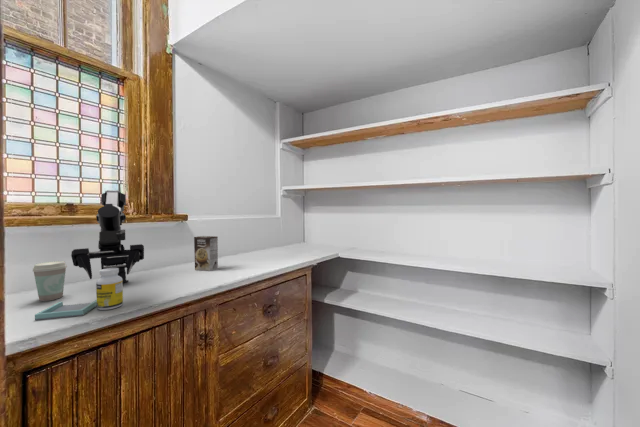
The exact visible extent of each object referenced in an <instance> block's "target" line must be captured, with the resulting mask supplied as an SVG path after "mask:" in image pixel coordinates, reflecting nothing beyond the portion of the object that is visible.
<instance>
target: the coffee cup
mask: <svg viewBox="0 0 640 427" xmlns="http://www.w3.org/2000/svg"><path fill="white" fill-rule="evenodd" d="M67 267H68V266H67V264H66V262H65V261H63V260H58V261H57V260H56V261H55V260H54V261H46V262H39V263H36V264H34V266H33V268H32V272H33V276H34V281H35V286H36V290H37V295H38V299H39V301H41V302H46V301H47V302H49V301H53V300H58V299H61V298H62V297H63V296H64V290H65V289H64V288H65V280H66V279H65V278H66V270H67Z"/></svg>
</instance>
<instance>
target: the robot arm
mask: <svg viewBox="0 0 640 427" xmlns="http://www.w3.org/2000/svg"><path fill="white" fill-rule="evenodd" d="M100 196H101V197H100V199H101V200H100V201H101V205H102V206H101V207H100V208H98V210H97V214H96V215H95V217H96V222H97V223H98V224H99V227H100V231H99V235H98V238H99V240H98V246H97V248H98V251H96V250H95V251H90V248H89V247H86V248H73V250H71V255H70V256H71V259H72V263H73V267H78V268H79V269H80V268H82V269H84V271H85V272H86V274H87V276H88V277H89V278H88V279H89V280H92V278H93V272H92V265H91V260H93V259H100V268H101V269H100V270H102V269H107V268H119V273H118V276H120V277H122V280H123V284H125V283H127V282H129V279H127V276H128V275H129V274H130V272H131V270H132V269H133V267H134V266H135V264H136V263H139V262H140V261H142V260H144V259H145V246H144V245H143V244H142V243H140V244H130V245H129V249H125V246H124V244H122V241H126V229H122V227H121V226H122V225H123V223H125V222H126V221H125V220H127V215H125V213H124V211H125V206H126V205H127V203H126V202H127V198H126V194H125V193H123V192H121V191H120V190H119V189H117V190H116V189H115V190H113V189H107V190H105V191H104V192H103V193H102V194H101V195H100Z"/></svg>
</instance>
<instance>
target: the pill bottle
mask: <svg viewBox="0 0 640 427" xmlns="http://www.w3.org/2000/svg"><path fill="white" fill-rule="evenodd" d="M118 273H119V268H107V269H102V270H101V269H99V275H100V277H99V278H98V279H96V283H95V288H96V289H95V290H96V291H95V292H96V300H97V306H96V309H98V310H99V311H100V310H101V311H108V310H114V309H116V308H119V307H121V306H122V305H123V304H124V295H123V294H124V290H123V289H124V288H123V285H124V283H123V280H122V277H120V276H118Z"/></svg>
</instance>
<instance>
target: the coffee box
mask: <svg viewBox="0 0 640 427" xmlns="http://www.w3.org/2000/svg"><path fill="white" fill-rule="evenodd" d="M218 241H219V240H218V236H214V235H213V236H212V235H200V236H198V235H197V236H194V237H193V246H194V250H193V251H194V270H195V271H205V272H211V271H214V270H218V269H219V263H218V261H219V257H218V256H219V255H218V254H219V251H218V250H219V249H218V246H219V244H218V243H219V242H218Z"/></svg>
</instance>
